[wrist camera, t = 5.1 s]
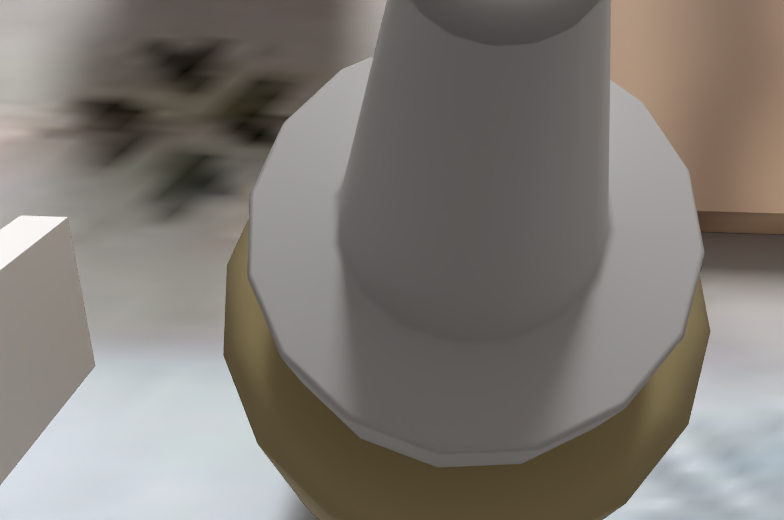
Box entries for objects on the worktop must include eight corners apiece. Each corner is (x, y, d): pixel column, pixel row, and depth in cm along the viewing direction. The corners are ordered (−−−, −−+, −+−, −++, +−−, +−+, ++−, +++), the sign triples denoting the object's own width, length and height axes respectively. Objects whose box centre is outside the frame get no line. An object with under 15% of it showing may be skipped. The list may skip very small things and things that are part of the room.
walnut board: (484, 224, 23) (488, 204, 22) (489, -126, 28) (492, -161, 26) (962, 240, 22) (999, 220, 21) (883, -124, 27) (908, -161, 25)
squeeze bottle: (633, 535, 20) (1815, 535, 3) (334, 612, 19) (-296, 1114, 3) (540, 256, 23) (870, -574, 6) (278, 319, 22) (-199, -352, 5)
